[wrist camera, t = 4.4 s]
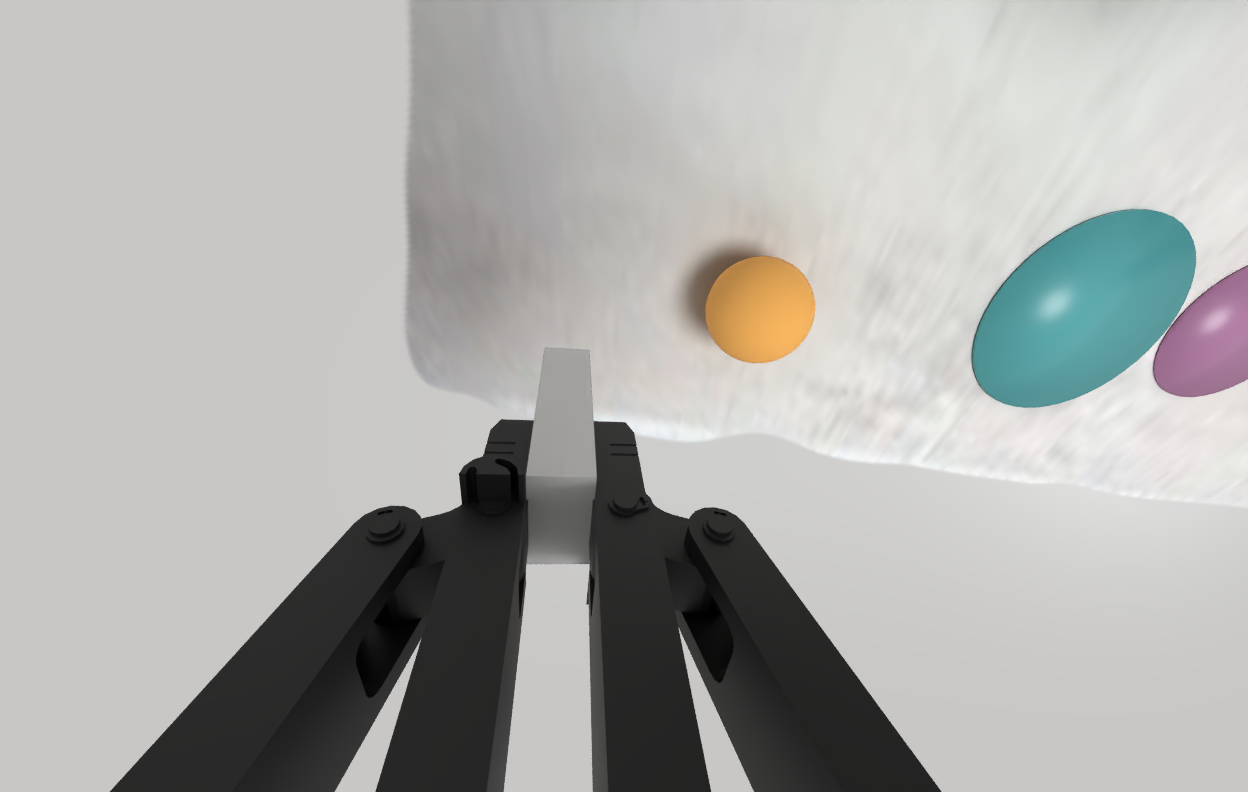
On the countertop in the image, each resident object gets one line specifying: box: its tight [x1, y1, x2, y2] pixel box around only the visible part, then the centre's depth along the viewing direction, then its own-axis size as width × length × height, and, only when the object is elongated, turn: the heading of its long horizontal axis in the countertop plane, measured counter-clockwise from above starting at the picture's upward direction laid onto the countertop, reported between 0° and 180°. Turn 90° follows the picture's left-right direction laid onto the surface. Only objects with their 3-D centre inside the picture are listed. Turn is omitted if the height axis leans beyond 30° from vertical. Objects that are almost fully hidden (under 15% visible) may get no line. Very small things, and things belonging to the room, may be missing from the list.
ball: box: [705, 256, 815, 363], centre depth 24 cm, size 6×6×6 cm
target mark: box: [972, 209, 1196, 408], centre depth 29 cm, size 13×13×1 cm
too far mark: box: [1154, 266, 1248, 397], centre depth 30 cm, size 10×10×1 cm
